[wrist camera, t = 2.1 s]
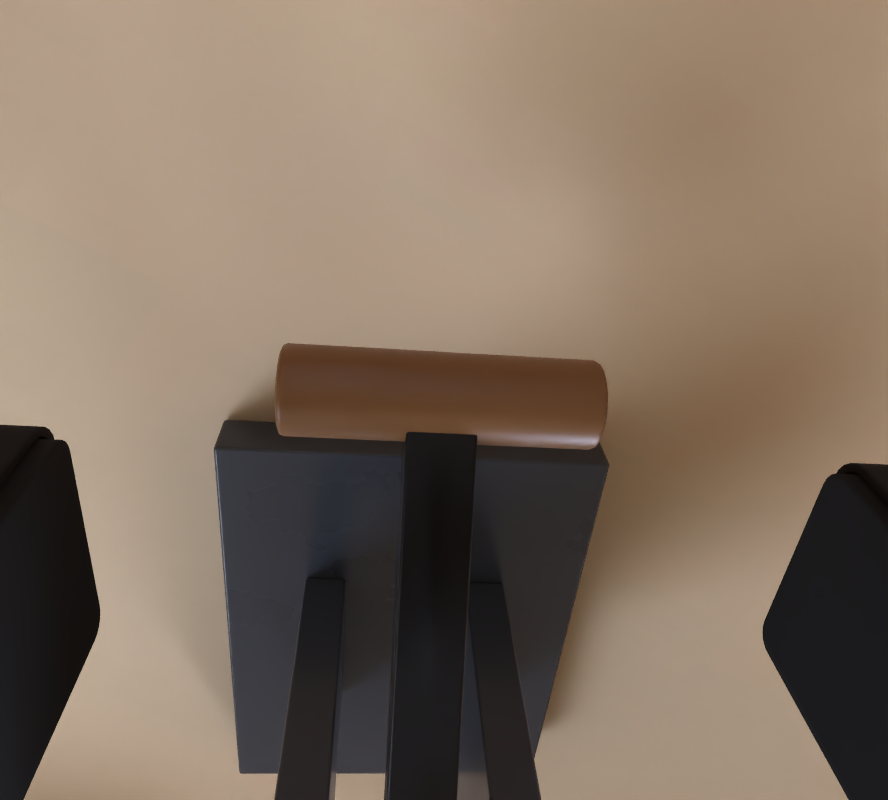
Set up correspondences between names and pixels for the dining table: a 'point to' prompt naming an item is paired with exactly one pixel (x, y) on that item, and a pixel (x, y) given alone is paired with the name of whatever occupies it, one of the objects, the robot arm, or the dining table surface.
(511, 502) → the bracket
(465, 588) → the lever
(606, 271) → the dining table surface
